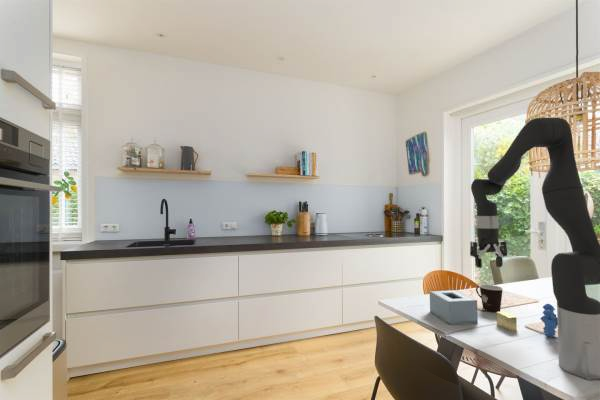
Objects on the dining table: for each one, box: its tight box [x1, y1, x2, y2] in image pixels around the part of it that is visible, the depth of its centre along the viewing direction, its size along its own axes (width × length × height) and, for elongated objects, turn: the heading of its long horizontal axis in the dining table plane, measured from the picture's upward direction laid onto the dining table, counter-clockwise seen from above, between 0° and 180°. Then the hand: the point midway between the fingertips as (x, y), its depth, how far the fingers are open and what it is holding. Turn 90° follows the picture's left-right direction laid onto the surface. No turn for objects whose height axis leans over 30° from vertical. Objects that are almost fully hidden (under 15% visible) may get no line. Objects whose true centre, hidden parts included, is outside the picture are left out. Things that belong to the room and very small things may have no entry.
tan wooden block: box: [496, 310, 518, 332], centre depth 112 cm, size 6×3×5 cm, turn 5°
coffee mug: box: [475, 284, 504, 314], centre depth 132 cm, size 12×9×10 cm
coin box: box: [429, 289, 479, 325], centre depth 123 cm, size 14×12×9 cm
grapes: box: [540, 303, 558, 338], centre depth 103 cm, size 12×7×12 cm, turn 142°
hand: (489, 267), depth 120 cm, fingers open, 8 cm apart
